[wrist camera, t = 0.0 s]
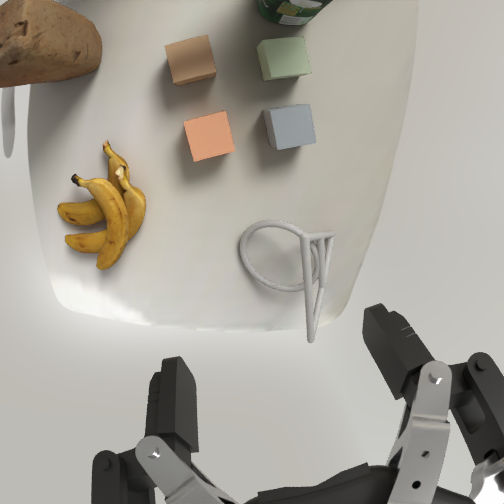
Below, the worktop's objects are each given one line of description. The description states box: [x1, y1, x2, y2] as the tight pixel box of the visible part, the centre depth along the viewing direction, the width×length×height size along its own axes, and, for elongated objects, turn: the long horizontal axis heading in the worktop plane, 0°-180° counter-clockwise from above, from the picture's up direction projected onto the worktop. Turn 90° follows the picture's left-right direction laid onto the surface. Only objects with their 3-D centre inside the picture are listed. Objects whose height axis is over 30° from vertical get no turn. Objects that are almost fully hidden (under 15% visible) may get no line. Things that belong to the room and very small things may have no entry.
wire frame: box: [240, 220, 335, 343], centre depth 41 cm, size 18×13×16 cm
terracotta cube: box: [183, 111, 235, 162], centre depth 32 cm, size 5×5×5 cm
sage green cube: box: [256, 36, 312, 81], centre depth 29 cm, size 5×5×5 cm
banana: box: [57, 140, 146, 270], centre depth 34 cm, size 15×19×6 cm
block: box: [0, 0, 102, 88], centre depth 17 cm, size 11×8×20 cm
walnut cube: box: [165, 35, 216, 86], centre depth 27 cm, size 5×5×5 cm
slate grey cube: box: [263, 104, 316, 150], centre depth 33 cm, size 5×5×5 cm
